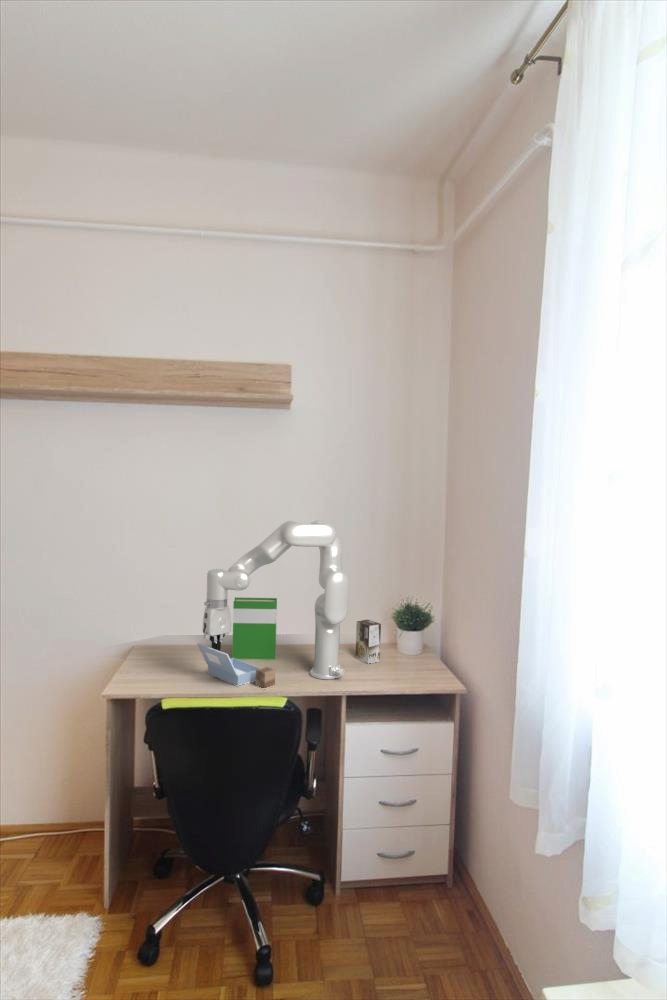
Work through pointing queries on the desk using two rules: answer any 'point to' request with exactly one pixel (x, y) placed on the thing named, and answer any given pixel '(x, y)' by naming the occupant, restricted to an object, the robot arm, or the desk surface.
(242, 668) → the mailer box
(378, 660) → the coffee box
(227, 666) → the lid
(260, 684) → the walnut block
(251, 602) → the hardback book
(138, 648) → the desk surface
